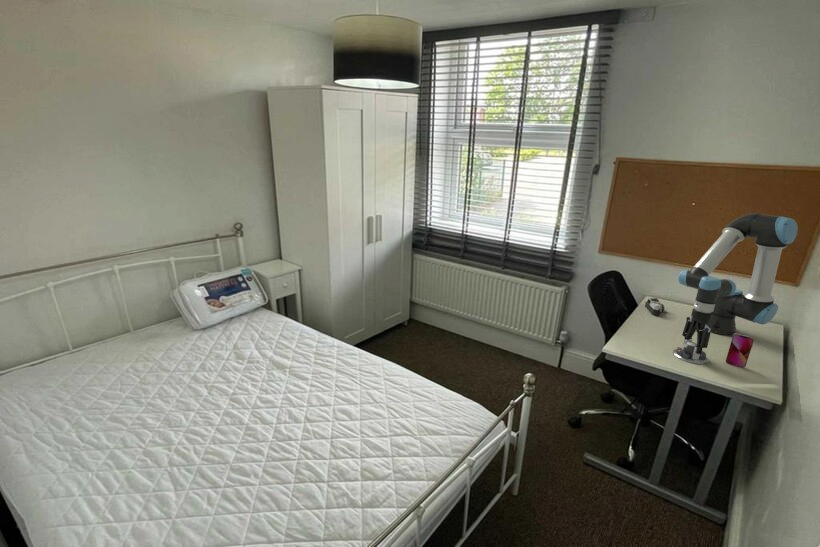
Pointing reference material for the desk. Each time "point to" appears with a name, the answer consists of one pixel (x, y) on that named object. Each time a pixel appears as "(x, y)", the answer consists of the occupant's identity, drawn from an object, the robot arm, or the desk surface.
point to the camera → (654, 306)
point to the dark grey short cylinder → (689, 348)
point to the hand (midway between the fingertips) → (690, 355)
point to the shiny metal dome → (686, 356)
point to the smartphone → (739, 350)
